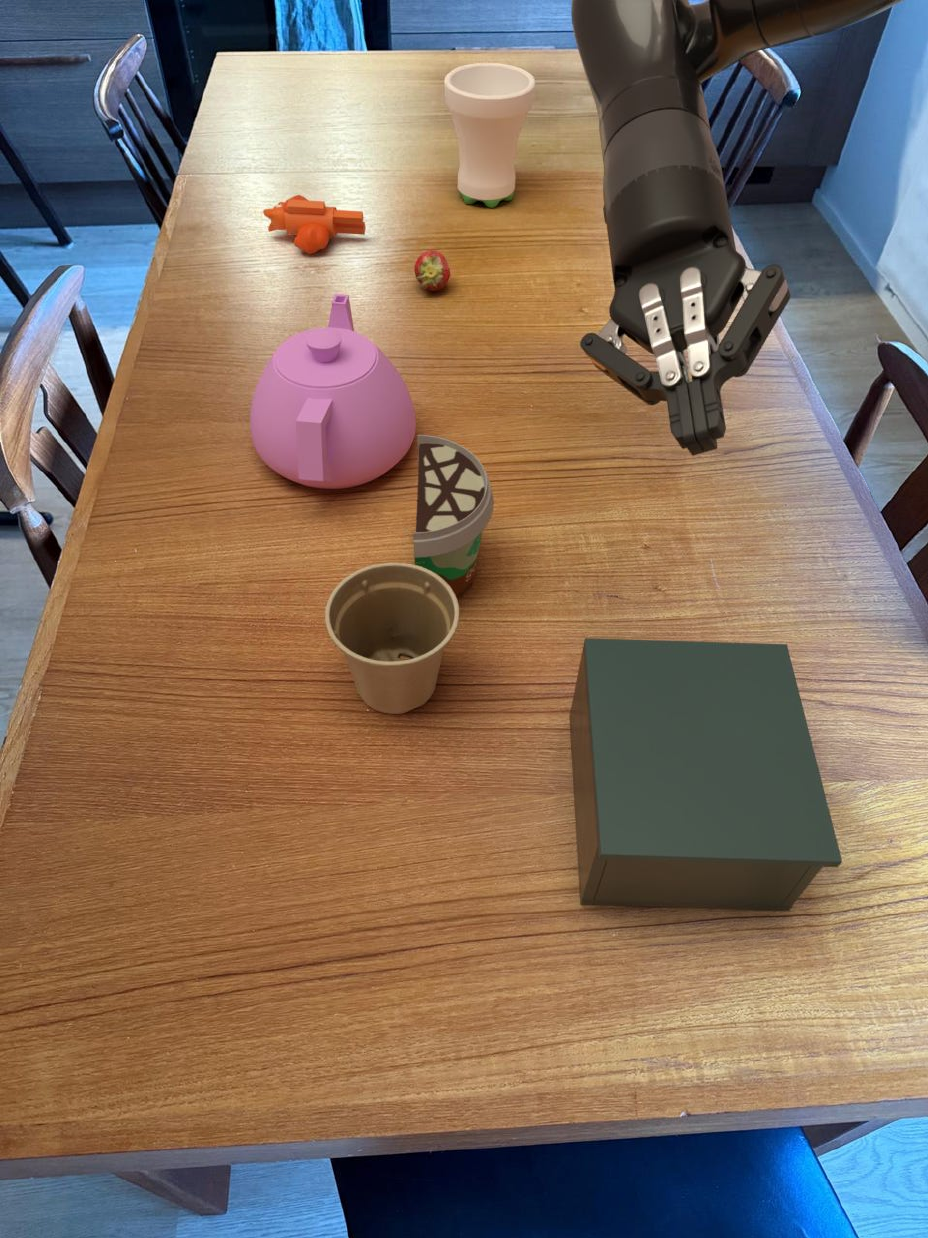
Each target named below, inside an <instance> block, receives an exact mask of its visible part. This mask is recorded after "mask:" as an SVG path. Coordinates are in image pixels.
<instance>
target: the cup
mask: <svg viewBox="0 0 928 1238" xmlns="http://www.w3.org/2000/svg"><path fill="white" fill-rule="evenodd" d="M443 82H444V103H445V106H446V107H447V109H448V110H449V113H450V116H451V119H452V122H453V126H454V130H455V134H456V139H457V144H458V153H459V169H458V173H457V190H458V191H459V192H460V195H461V197H462V198H463V201H464V203H465V204H467V205H473V204H475V203H477V202H478V201H479V202H483V204H484V205H485V206H486V207H487V208H489V209H494V208H496V207H497V206H498V204H499V203H500V201H504V202H505V201H506V202H510V201H512V199H514V195H515V189H516V177H517V176H516V171H515V162H516V153H517V146H518V142H519V138H520V135H521V131H522V129H523V126H524V123H525V120H526V118H527V115H528V113H529V111H531V109H532V107H533V104H534V102H535V91H536V79H535V77H534V76H533V75H532V74H531V73H530V72H528V71H527V70H525V69H523V68H520V67H518V66H515V65H510V64H506V63H500V62H498V63H497V62H477V63H469V64H465V65H460V66H458V67H455V68H453V69H452V70H451V71H449V72H448V73H447V74H445V77H444V81H443Z"/></svg>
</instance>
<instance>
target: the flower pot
mask: <svg viewBox="0 0 928 1238" xmlns="http://www.w3.org/2000/svg"><path fill="white" fill-rule="evenodd" d="M459 604H460V603H459V601H458V599H457V598H456V596H455V593H454V592H453V590H452V588H451V587H450V586H449V585H448V584H447V583H446V582H445V581H444V580H443V579H442V578H441V577H440V576H438V575H437V574H436V573H434V572H432V571H430V570H428V569H426V568H423V567H421V566H417V565H415V564H414V563H408V562H407V563H406V562H397V561H396V562H395V561H390V562H384V563H379V562H378V563H375V564H370V565H367V566H364V567H362V568H360V569H357V570H355V571H353V572H351V573H350V574H348V575H347V576H346V577H344V578H343V579H341V581H340V582H339V583H338V584H337V585H336V587H334V589H333V590H332V591H331V593H330V595H329V597H328V599H327V601H326V604H325V608H324V623H325V627H326V630H327V633H328V635H329V637H330V639H331V641H332V642H333V643H334V645H335V646H336V647H337V648H338V649H339V650H340V651H341V653H342V654H343V655H344V657H345V660H346V663H347V665H348V668H349V671H350V674H351V677H352V679H353V683H354V685H355V690H356V691H357V693H358V695H359V697H360V699H362V701H363V702H364V703H365V705H366V706H368V707H369V708H371V709H372V710H375V711H377V712H380V713H383V714H389V715H400V714H406V713H408V712H410V711H412V710H414V709H417V708H418V707H421V706H424V705H425V704H426V703H427V702H428V701H429V700H430V698H431V697H432V696H433V694H434V692H435V690H436V686H437V682H438V676H439V672H440V667H441V663H442V659H443V655H444V651H445V649H446V647H447V646H448V644H449V643H450V641H451V640H452V638H453V637H454V635H455V633H456V631H457V629H458V626H459V622H460V605H459ZM400 655H404V656H407V657H409V659H404V658H401V657H400V658H399V656H400Z"/></svg>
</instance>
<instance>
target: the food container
mask: <svg viewBox="0 0 928 1238" xmlns="http://www.w3.org/2000/svg"><path fill="white" fill-rule="evenodd" d="M417 473H418V474H417V497H416V498H417V499H416V516H415V517H416V518H415V522H416V523H415V532H413V533H412V534H413V558H414V565H417V566H421V567H423V568H426V569H428V570H430V571H432V572H434V573H436V574H437V575H438V576H440V577H441V578H442V579H443V580H444V581H445V582H446V583H447V584H448V585H449V586H450V587H451V588H452V590H453V592H454V593H455V596H456V598H457V600H459V599H461V598H462V597H464V596H465V595H466V593H467V592H468V591H469V590H470V588H471V587H472V586H473V584H474V581H475V578H476V574H477V570H478V569H477V568H478V562H479V556H480V549H481V542H482V535H483V531H484V530H485V529H486V527H487V526H488V524H489V522H490V520H491V519H492V515H493V512H494V507H495V506H494V505H495V499H494V493H493V489H492V484H491V480H490V477H489V476H488V472H487V470H486V469H485V467H484V465H483V464H482V462H481V461H480V459H478V457H477V456H476V455H475V454H474V453H473V452H471V451H470V450H469V449H468V448H466V447H464V446H463V445H461V444H459V443H457V442H455V441H452V440H450V439H447V438H443V437H439V436H435V435H428V434H417Z"/></svg>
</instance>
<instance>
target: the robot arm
mask: <svg viewBox="0 0 928 1238" xmlns="http://www.w3.org/2000/svg"><path fill="white" fill-rule="evenodd" d="M903 1H904V0H705V1H703V2H700V3H697V4H691V3H690V0H571V11H570V12H571V13H570V14H571V25H572V30H573V35H574V40H575V43H576V47H577V50H578V53H579V57H580V60H581V64H582V67H583V70H584V73H585V76H586V80H587V83H588V86H589V88H590V91H591V95H592V98H593V100H594V104H595V108H596V112H597V115H598V130H599V140H600V147H601V155H602V163H603V164H602V165H603V177H602V196H603V207H602V212H603V219H604V223H605V225H606V231H607V240H608V247H609V256H610V265H611V273H612V274H611V275H612V282H613V288H614V293H613V297H612V299H611V301H610V305H609V309H608V313H609V314H608V315H609V317H610V319H609V320H608V321H607V322H606V323H605V325H604V326H603V327H602V328H601V329H600V330H599V332H598V333H595V332H588V333H586V334H584V336H583V337H582V338H581V340H580V342H579V345H580V348H581V350H582V351H583V352H584V354H585V355H586V356H587V358H588V359H589V360H590V362H591V363H592V364H593V365H594V367H595V368H596V369H597V370H599V371H600V372H602V373H603V374H604V375H606V376H607V377H608V378H610V379H611V380H612V381H614V382H615V383H617V384H618V385H620V386H621V387H623V388H624V389H625V390H626V391H628V392H630V393H631V394H632V395H634V396H635V397H636V398H637V399H639V400H640V401H642V402H643V403H645V404H646V405H648V406H655V405H657V404H659V403H660V402H666V405H667V414H668V421H669V428H670V433H671V435H672V436H673V438H674V439H675V440H676V442H677V444H678V445H679V446H680V448H681V449H682V450H684V449H687V450H688V452H689V454H690V455H691V456H692V457H694V456H697V455H701V454H704V453H707V452H711V451H715V450H717V449H718V447H719V446H718V441H717V440H719V439H722V438H725V434H726V430H727V426H726V425H727V424H726V419H725V413H724V408H723V407H724V406H723V401H722V400H723V399H722V394H721V390H722V388H723V386H724V384H725V383H726V382H727V381H729V380H731V379H732V378H740V377H744V376H745V375H746V374H747V373H748V372H749V370H750V368H751V367H752V365H753V363H754V361H755V360H756V358H757V356H758V355H759V353H760V351H761V350H762V347H763V346H764V344H765V342H766V341H767V340H768V337H769V336H770V334H771V332H772V331H773V329H774V327H775V326H776V324H777V322H778V320H779V318H780V316H781V315H782V313H783V312H784V310H785V308H786V306H787V305H788V303H789V301H790V299H791V291H790V289H789V286H788V283H787V280H786V277H785V274H784V271H783V269H782V267H781V266H780V265H779V264H775V263H774V264H769V265H767V266H766V267H765V266H764V268H763V269H762V270H759V269H754V268H749V267H748V266H747V263H746V259H745V257H744V256H743V255H742V254H741V253H739V252H738V251H737V248H736V242H735V236H734V231H733V225H732V220H731V219H732V218H731V214H730V209H729V203H728V198H727V197H728V196H727V192H726V186H725V181H724V180H725V179H724V175H723V170H722V165H721V159H720V156H719V153H718V151H717V148H716V146H715V143H714V140H713V136H712V131H711V125H710V120H709V115H708V108H707V103H706V99H705V95H704V90H703V88H702V84H703V82H705V81H707V80H709V79H711V78H713V77H714V76H716V75H717V74H719V73H721V72H723V71H725V70H726V69H729V68H730V67H731V66H733V65H735V64H737V63H738V62H740V61H741V60H743V59H745V58H747V57H749V56H750V55H752V54H753V53H756V52H759V51H762V50H768V49H772V48H775V47H780V46H783V45H786V44H791V43H794V42H798V41H802V40H805V39H809V38H813V37H816V36H820V35H825V34H827V33H831V32H834V31H837V30H841V29H845V28H846V27H850V26H852V25H855V24H858V23H860V22H862V21H865V20H867V19H870V18H872V17H874V16H876V15H878V14H880V13H882V12H885V11H887V10H889V9H890V8H892V7H894V6H896V5H898V4H899V3H901V2H903ZM741 299H742V300H743V303H742V305H741V307H740V308H739V310H738V312H737V313H736V315H735V316H734V318H733V320H732V322H731V324H730V325H729V327H728V329H727V330H726V332H725V334H724V335H723V337H722V339H721V341H720V334H721V333H722V332H723V331H724V330H725V328H726V327H727V325H728V323H729V321H730V319H731V318H732V315H733V314H734V312H735V310H736V309H737V306H738V305H739V303H740V301H741ZM624 335H625V336H626V337H627V338H628V339H630V340H631V341H632V342H633V343H635V344H637V345H638V346H639V347H641V348H642V349H644V350H645V351H646V352H648V353H650V354H651V355H654V357H655V361H656V365H657V369H658V370H657V371H656V370H654V371H652V370H651V371H650V370H649V369H648V368H647V367H645V366H644V365H642V364H640V363H639V362H637V361H636V360H635V359H633V358H632V357H631V356H629V355H627V351H628V349H627V346H626V345H625V343H624V342H623V339H624ZM686 350H687V358H686V355H685V354H686V353H685V351H686ZM690 376H691V381H690Z"/></svg>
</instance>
